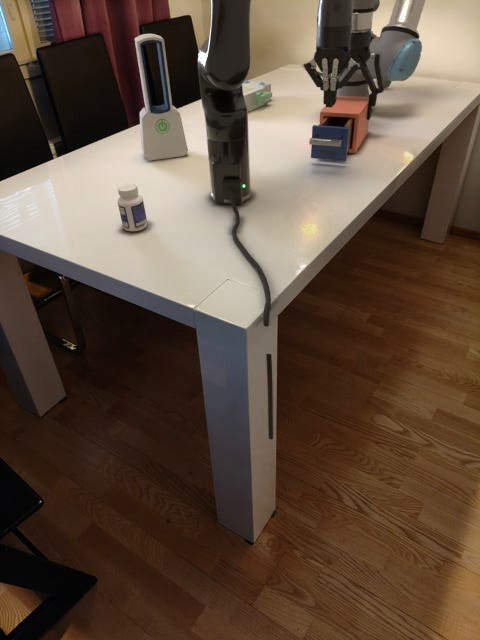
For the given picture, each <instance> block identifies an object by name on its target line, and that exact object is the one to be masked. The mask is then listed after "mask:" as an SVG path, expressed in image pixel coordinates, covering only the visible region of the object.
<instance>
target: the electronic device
mask: <svg viewBox="0 0 480 640" xmlns="http://www.w3.org/2000/svg"><path fill="white" fill-rule="evenodd" d="M150 43H156V48H157V55H158V64H159V70H160V77H161V85H162V92H163V101H164V103H163V104H159V105H152V101H151V100H152V99H151V94H150V93H151V91H150V86H149V80H148V74H147V66H146V61H145V53H144V47H143V46H144V45H147V44H150ZM134 44H135V51H136V52H135V53H136V57H137V64H138V69H139V75H140V83H141V89H142V96H143V102H144V107H142V108H141V110H140V111H139V130H140V143H141V144H140V145H141V151H142V154H143V157H144V158H145V159H146V160H148V162H149V161H156V160H164V159H170V158H172V159H173V158H178V157H185V156H186V154H187V153H188V152H189V149H188V144H187V139H186V134H185V129H184V126H183V120H182V116H181V112H180V111H179V110H178V108H177V107H175V106H174V105H173V100H172V99H173V98H172V93H171V85H170V77H169V69H168V60H167V53H166V45H165V39H164V38H163V37H162V36H161V35H158V34H155V33H143V34H139V35H138V36H136V37H135V38H134Z"/></svg>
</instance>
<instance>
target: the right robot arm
mask: <svg viewBox="0 0 480 640" xmlns="http://www.w3.org/2000/svg"><path fill="white" fill-rule="evenodd" d="M374 1H375V0H353V17H352V29H351V42H350V51H351V54H352V59H353V60H354V61H355V62H356V63H359V64H360V67H359V68H358V69H357V71H356V72H355V73H354V74H353V76H352V77H351V78H350V79H349V80H348V82H347V83H346V84H345V85H344V86H343V87H342V88H339V89H337V96H357V97H369V101H368V111H367V120H369V121H370V119H371V118H372V112H373V111H372V110H373V108H375V107H376V105H377V99H378V95H379V94H382V93H384V91H385V87H384V82H383V80H390V81H392V82H405V81H407V80H408V79H409V78H410V77H412V76H413V74H414V72H415V71H416V69H417V67H418V65H419V63H420V60H421V56H422V54H421V53H422V51H423V44H422V41H421V40H420V33H419V31H418V26H419V23H420V20H421V16H422V13H423V10H424V6H425V3H426V0H395V1H394V5H393V8H392V11H391V15H390V18H389V21H388V23H387V24H386V25H385V26H383V27H381V31H380V35H379V36H377V37H373V35H374V34H375V33H374V32H373V30H372V28H373V19H374V12H373V9H374ZM369 29H371V31H369ZM305 64H306V63H303V66H305ZM348 66H349V63H348V64H347V65H346V66H345V68H344V69H343V70H342V72H340V76H339V81H338V82H340V81H341V80H342V79H343V78H344V77H345V75H346V74H347V73H348V72H349V71H348ZM317 72H318V73H319V75H320V76H321V77H323V73H322V72H321V71H318V70H317ZM374 80H376V82H375V81H374ZM377 84H378V85H377ZM319 89H320V91H322V92H324V90H323V89H322V88H320V87H319ZM369 90H370V91H369Z"/></svg>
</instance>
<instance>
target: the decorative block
mask: <svg viewBox="0 0 480 640" xmlns="http://www.w3.org/2000/svg"><path fill="white" fill-rule="evenodd" d="M242 88H243V95H244V99H245V102H246V105H247V109H248V113H249V112H251V111H253V110H256V109H258V108H261V107H263V106H265V105H267V102H270V101H271V100H272V97H273V92H272V83H271V82H270V83H269V82H264V81H251V80H247V79H246V80H245V81H244V83H243V84H242Z"/></svg>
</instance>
